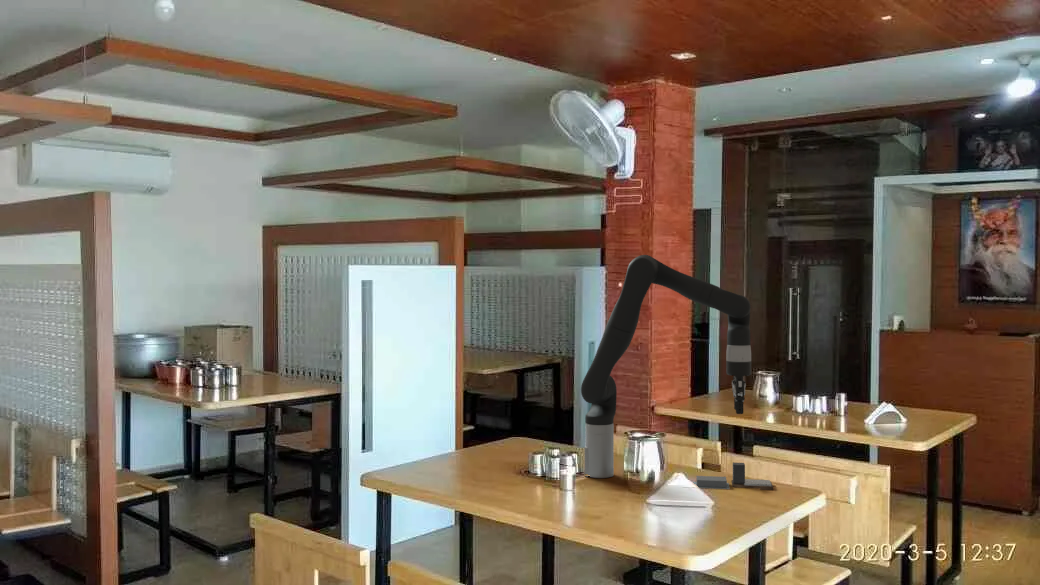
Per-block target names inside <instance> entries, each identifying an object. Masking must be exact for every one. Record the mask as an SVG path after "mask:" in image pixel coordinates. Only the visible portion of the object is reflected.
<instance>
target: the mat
mask: <svg viewBox="0 0 1040 585" xmlns="http://www.w3.org/2000/svg"><path fill="white" fill-rule="evenodd" d="M692 482H693V483H694V484H696V485H697V483H696V481H692ZM698 489H713V490H715V489H716V490H717V489H718V490H730V489H731V488H730V484H729V482H727V488H718V487H699V488H698Z"/></svg>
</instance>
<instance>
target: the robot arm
mask: <svg viewBox="0 0 1040 585" xmlns="http://www.w3.org/2000/svg"><path fill="white" fill-rule="evenodd" d="M652 284H653V285H658V286H660V287H661V286H663V287H665V288H667V289H669V290H672V291H674V292H676V293H678V294H680V295H681V296H682V297H684V298H685V299H688V300H690V301H692V302H694V303H697V304H699V305H702V306H706V307H708V308H711V309H715V310H718V311H719V312H722V313H723V314H726V315H727V326H728V327H727V333H726V356H725V357H726V359H725V360H726V362H725V363H726V364H725V365H726V367H725V368H726V375H728V376H733V377H732V379H733V380H731V386H732V394H733V402H734V403H733V405H734V407H733V408H734V410H735V414H737V415H743V414H744V402H745V400H746V399H745V395H746V386H747V384H746V381H745V380H744V377H747V376H748V377H749V376H751V375H752V348H751V328H750V325H751V324H750V322H751V303H750V300H749V299H748V297H746V296H744V295H741V294H738V293H735V292H732V291H729V290H726V289H723V288H721V287H719V286H717V285H715V284H712V283H710V282H707V281H705V280H702V279H699V278H696V277H694V276H690V275H688V274H686V273H684V272H681V271H678V270H676V269H674V268H672V267H670V266H668V265H666V264H664V263H663V262H661V261H659V260H658V259H656V258H654V257H653V256H651V255H648V254H641V255H638V256H636V257H635V258H633V259H632V260H631V261H630V262H629V264H628V265H627V270H626V274H625V277H624V282H623V285H622V289H621V292H620V295H619V297H618V299H617V301H616V303H615V305H614V307H613V309H612V311H611V313H610V316H609V318H608V320H607V323H606V325H605V327H604V331H603V334H602V337H601V340H600V342H599V345H598V348H597V350H596V351H595V352H596V353H595V355H594V358H593V360H592V363H591V364H590V366H589V368H588V370H587V373H586V374H585V376H584V378H583V380H582V382H581V386H580V393H581V396H582V399H583V400H584V401H585V402H586V403H588V404H591V405H590V408H589V410H588V411H587V413H586V414H585V418H584V419H585V423H584V426H585V428H584V432H585V433H584V434H585V436H584V437H585V441H584V442H585V444H584V445H585V446H584V475H585V474H588V475H590V477H589V478H595V479H605V478H611V477H614V473H615V471H614V466H615V465H614V464H615V463H614V461H615V460H614V456H615V455H614V454H615V453H614V446H615V445H614V440H615V439H614V431H615V430H614V420H615V419H614V418H615V416H616V412H617V411H616V410H617V396H618V395H617V390H618V389H617V384H616V380H615V379H614V378H613V376H611V374H612V371H613V369H614V367H615V365H616V364H617V363H618V362H619V360H620V359H621V357H622V356H623V355H624V354H625V353H626V351H627V350H628V348H629V346H630V345H631V342H632V340H633V338H634V336H635V333H636V330H637V327H638V324H639V319H640V313H641V308H642V305H643V303H644V302H643V301H644V299H645V297H646V295H647V292H648V291H649V289H650V288H651V285H652Z"/></svg>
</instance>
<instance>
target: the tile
mask: <svg viewBox="0 0 1040 585" xmlns="http://www.w3.org/2000/svg"><path fill="white" fill-rule="evenodd" d="M695 482H696V483H697V486H698V487H718V488H727V483H728V482H727V477H726V476H718V475H717V476H713V475H711V476H710V475H696V481H695Z"/></svg>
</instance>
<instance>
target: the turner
mask: <svg viewBox="0 0 1040 585" xmlns="http://www.w3.org/2000/svg"><path fill="white" fill-rule="evenodd" d="M732 480H733V484H744V485H746V486H771V483H772V481H771V480H770V479H754V478H753V479H751V478H750V479H749V478H746V464H745V462H736V461H735V462H734V461H733V462H732Z"/></svg>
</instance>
